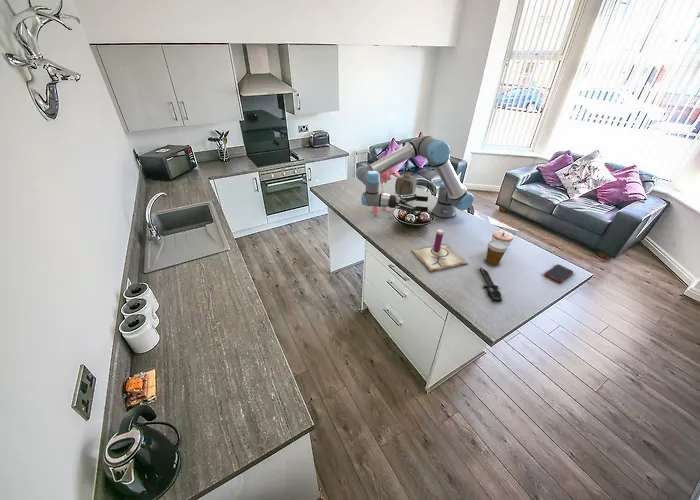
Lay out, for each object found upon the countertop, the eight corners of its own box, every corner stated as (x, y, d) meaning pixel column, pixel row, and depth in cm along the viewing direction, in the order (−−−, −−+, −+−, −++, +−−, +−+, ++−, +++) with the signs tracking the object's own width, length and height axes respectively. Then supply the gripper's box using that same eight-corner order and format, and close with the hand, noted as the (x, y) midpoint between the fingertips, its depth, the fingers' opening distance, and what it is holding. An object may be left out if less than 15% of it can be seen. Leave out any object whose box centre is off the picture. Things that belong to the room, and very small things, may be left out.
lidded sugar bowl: (493, 239, 176) (498, 226, 170) (512, 246, 169) (517, 232, 164) (486, 246, 169) (490, 232, 164) (504, 253, 163) (509, 239, 158)
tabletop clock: (414, 198, 226) (418, 167, 212) (410, 203, 220) (414, 171, 206) (397, 195, 233) (400, 164, 219) (393, 199, 226) (395, 167, 212)
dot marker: (437, 248, 166) (441, 228, 159) (440, 251, 164) (445, 232, 156) (432, 249, 166) (435, 229, 158) (435, 252, 163) (439, 233, 155)
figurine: (362, 214, 205) (363, 165, 185) (391, 206, 215) (395, 159, 195) (373, 223, 194) (375, 172, 174) (404, 215, 204) (409, 165, 184)
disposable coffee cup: (500, 259, 159) (507, 241, 152) (502, 269, 151) (509, 250, 144) (482, 256, 161) (487, 238, 155) (482, 266, 154) (488, 247, 147)
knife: (477, 268, 152) (477, 266, 152) (490, 269, 152) (490, 267, 151) (488, 301, 132) (489, 299, 131) (503, 302, 131) (504, 300, 130)
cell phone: (573, 272, 148) (574, 271, 148) (559, 283, 142) (560, 281, 141) (557, 265, 154) (558, 263, 153) (543, 275, 147) (543, 273, 146)
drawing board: (445, 245, 171) (446, 243, 170) (466, 264, 155) (466, 262, 155) (412, 251, 166) (412, 249, 165) (430, 272, 150) (430, 270, 149)
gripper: (390, 198, 174) (426, 201, 170) (385, 216, 154) (426, 220, 150) (391, 186, 170) (428, 189, 166) (386, 204, 149) (428, 207, 145)
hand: (427, 204), depth 158 cm, fingers open, 13 cm apart
